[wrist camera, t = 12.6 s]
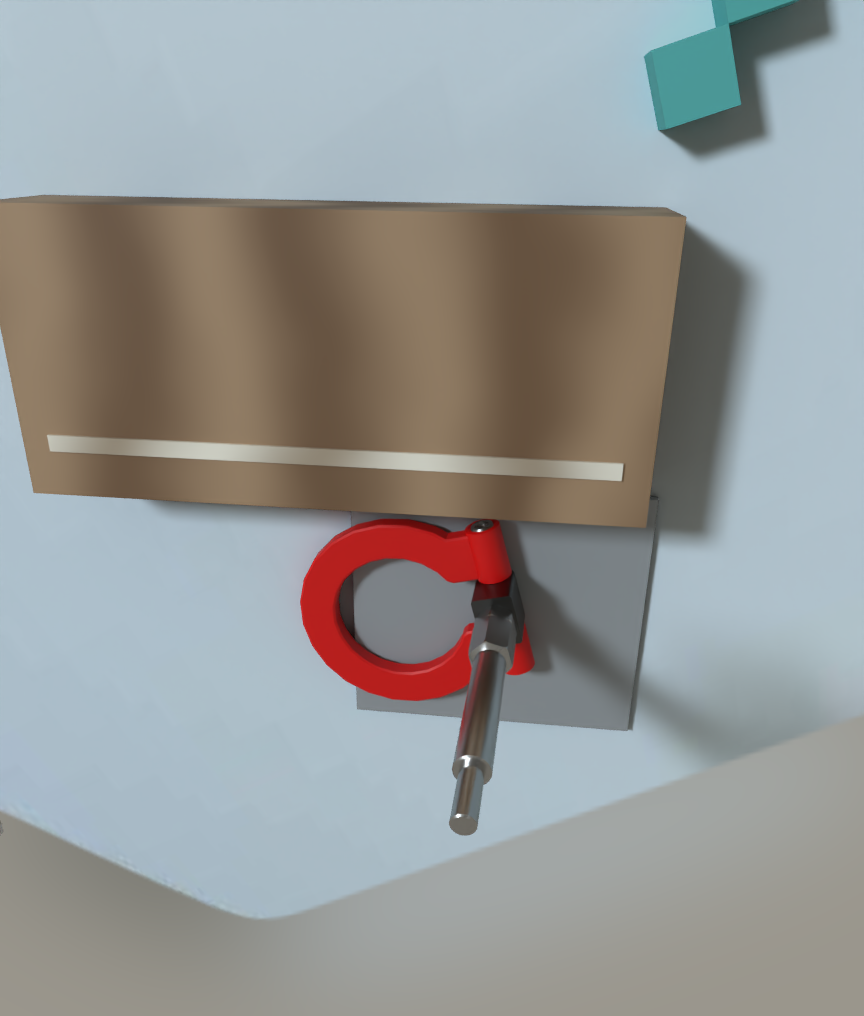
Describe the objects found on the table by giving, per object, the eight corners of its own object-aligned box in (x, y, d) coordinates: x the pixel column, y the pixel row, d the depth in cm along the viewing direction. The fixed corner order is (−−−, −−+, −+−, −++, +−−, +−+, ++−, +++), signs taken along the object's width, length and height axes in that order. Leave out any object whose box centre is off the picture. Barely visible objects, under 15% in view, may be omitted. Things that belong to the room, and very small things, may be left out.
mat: (657, 497, 32) (658, 500, 31) (626, 726, 36) (627, 731, 36) (351, 480, 33) (350, 483, 32) (358, 705, 37) (357, 709, 37)
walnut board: (665, 207, 27) (686, 217, 24) (632, 483, 32) (646, 529, 28) (43, 195, 30) (-27, 201, 26) (87, 455, 34) (32, 494, 30)
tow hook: (341, 696, 37) (542, 670, 35) (235, 949, 26) (526, 935, 23) (282, 532, 34) (497, 492, 32) (130, 734, 23) (453, 695, 20)
